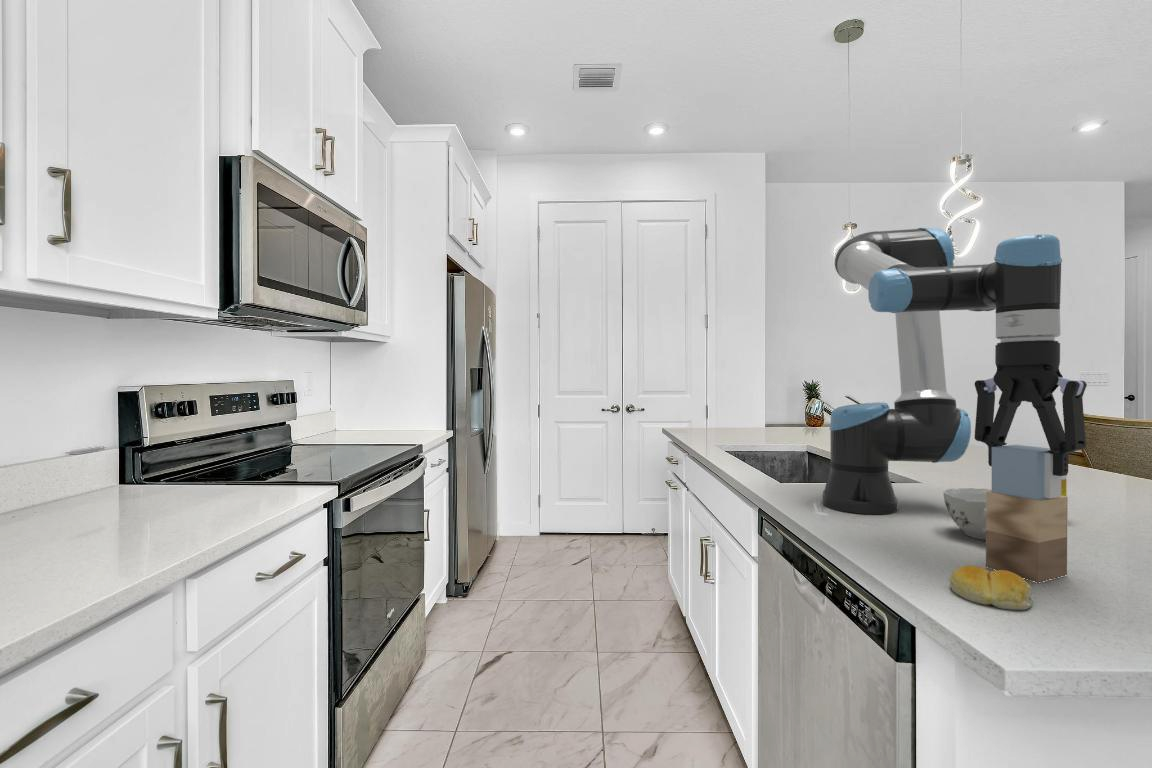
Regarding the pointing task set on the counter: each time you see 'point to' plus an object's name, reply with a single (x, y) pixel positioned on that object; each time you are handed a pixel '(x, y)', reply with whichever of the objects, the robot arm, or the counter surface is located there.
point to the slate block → (1018, 471)
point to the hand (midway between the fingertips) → (1026, 492)
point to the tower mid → (1027, 517)
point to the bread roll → (992, 587)
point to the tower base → (1027, 556)
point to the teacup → (968, 510)
